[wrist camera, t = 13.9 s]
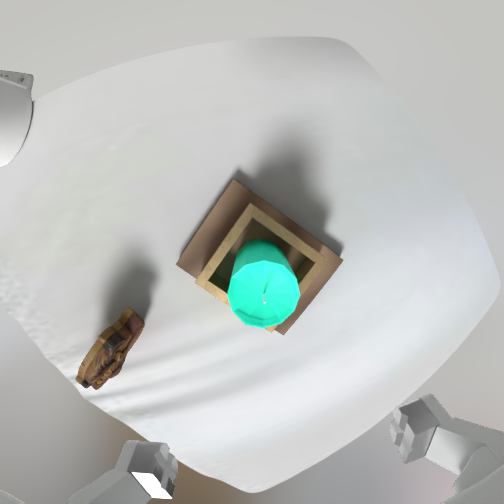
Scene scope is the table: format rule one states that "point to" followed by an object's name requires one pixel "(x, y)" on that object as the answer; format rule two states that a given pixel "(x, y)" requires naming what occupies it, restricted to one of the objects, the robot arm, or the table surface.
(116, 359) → the wooden carving
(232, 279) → the candle
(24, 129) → the robot arm
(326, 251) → the candle stand
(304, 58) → the table surface
